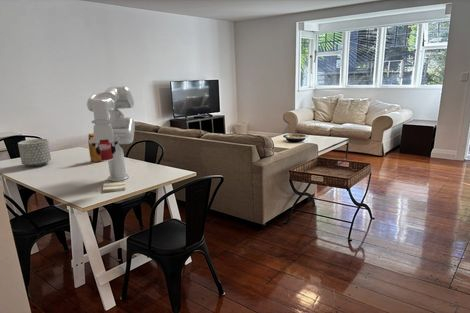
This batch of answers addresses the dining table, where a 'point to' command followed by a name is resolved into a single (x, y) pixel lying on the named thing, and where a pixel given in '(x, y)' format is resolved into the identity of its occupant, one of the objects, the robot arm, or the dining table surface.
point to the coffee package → (93, 150)
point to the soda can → (105, 150)
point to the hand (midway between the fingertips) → (106, 153)
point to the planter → (34, 152)
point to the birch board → (114, 186)
